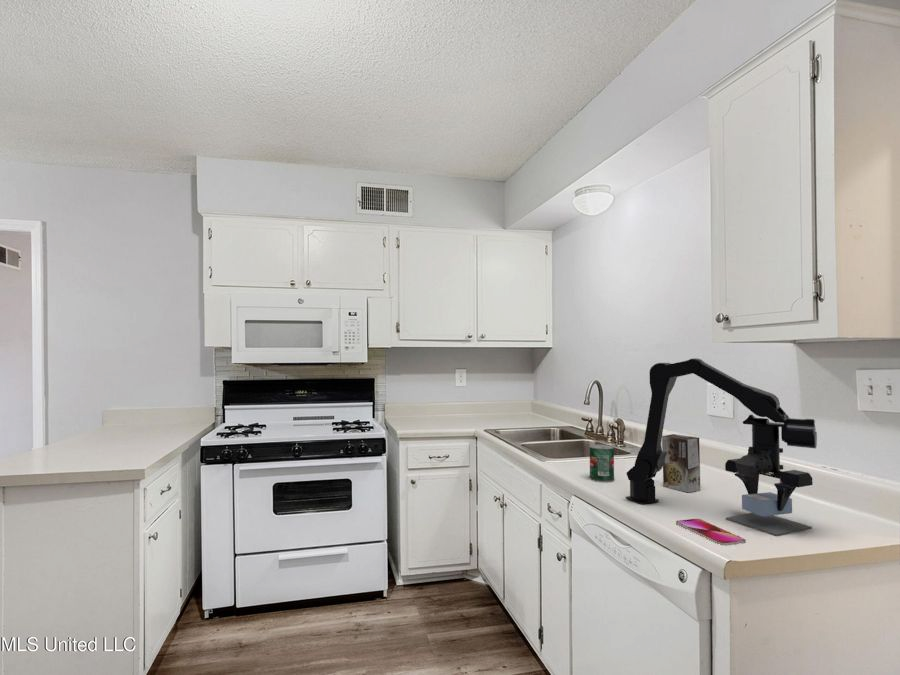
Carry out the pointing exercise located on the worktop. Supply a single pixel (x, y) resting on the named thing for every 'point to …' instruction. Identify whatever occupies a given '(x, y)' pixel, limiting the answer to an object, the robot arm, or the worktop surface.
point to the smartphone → (710, 532)
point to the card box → (764, 504)
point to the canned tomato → (602, 463)
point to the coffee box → (681, 463)
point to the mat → (768, 523)
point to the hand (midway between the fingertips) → (766, 507)
